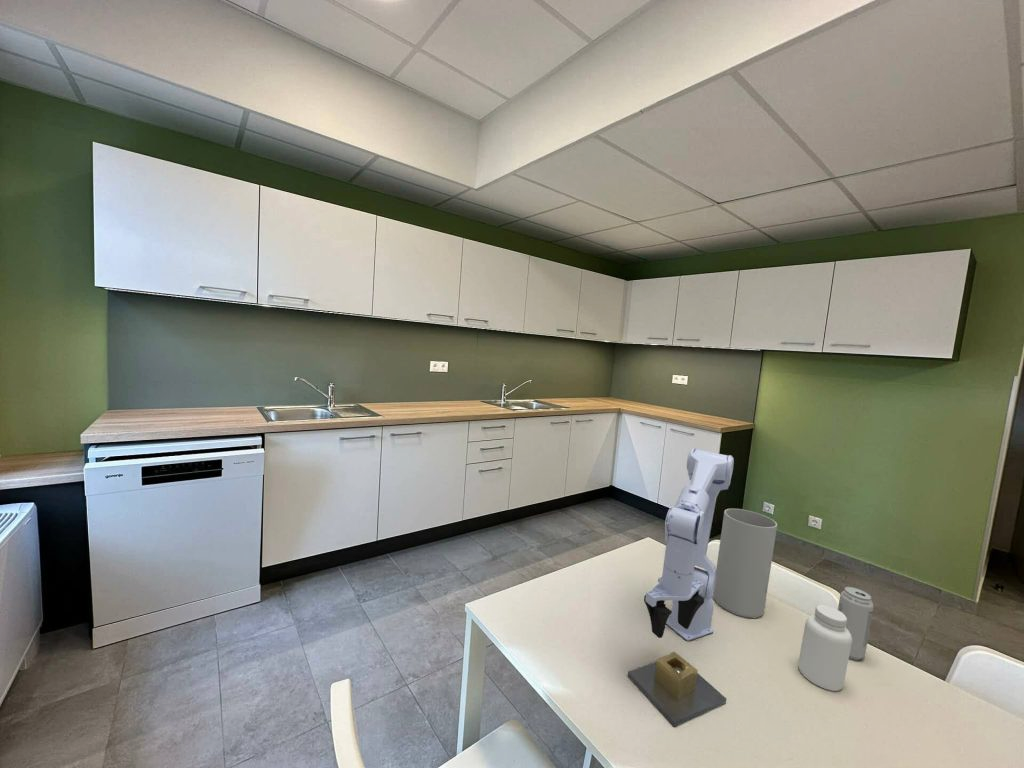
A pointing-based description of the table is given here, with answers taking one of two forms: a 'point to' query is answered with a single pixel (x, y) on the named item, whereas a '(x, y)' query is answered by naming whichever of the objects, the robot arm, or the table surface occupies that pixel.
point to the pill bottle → (825, 648)
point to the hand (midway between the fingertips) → (670, 630)
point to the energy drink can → (857, 618)
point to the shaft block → (668, 704)
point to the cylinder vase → (744, 562)
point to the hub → (676, 675)
